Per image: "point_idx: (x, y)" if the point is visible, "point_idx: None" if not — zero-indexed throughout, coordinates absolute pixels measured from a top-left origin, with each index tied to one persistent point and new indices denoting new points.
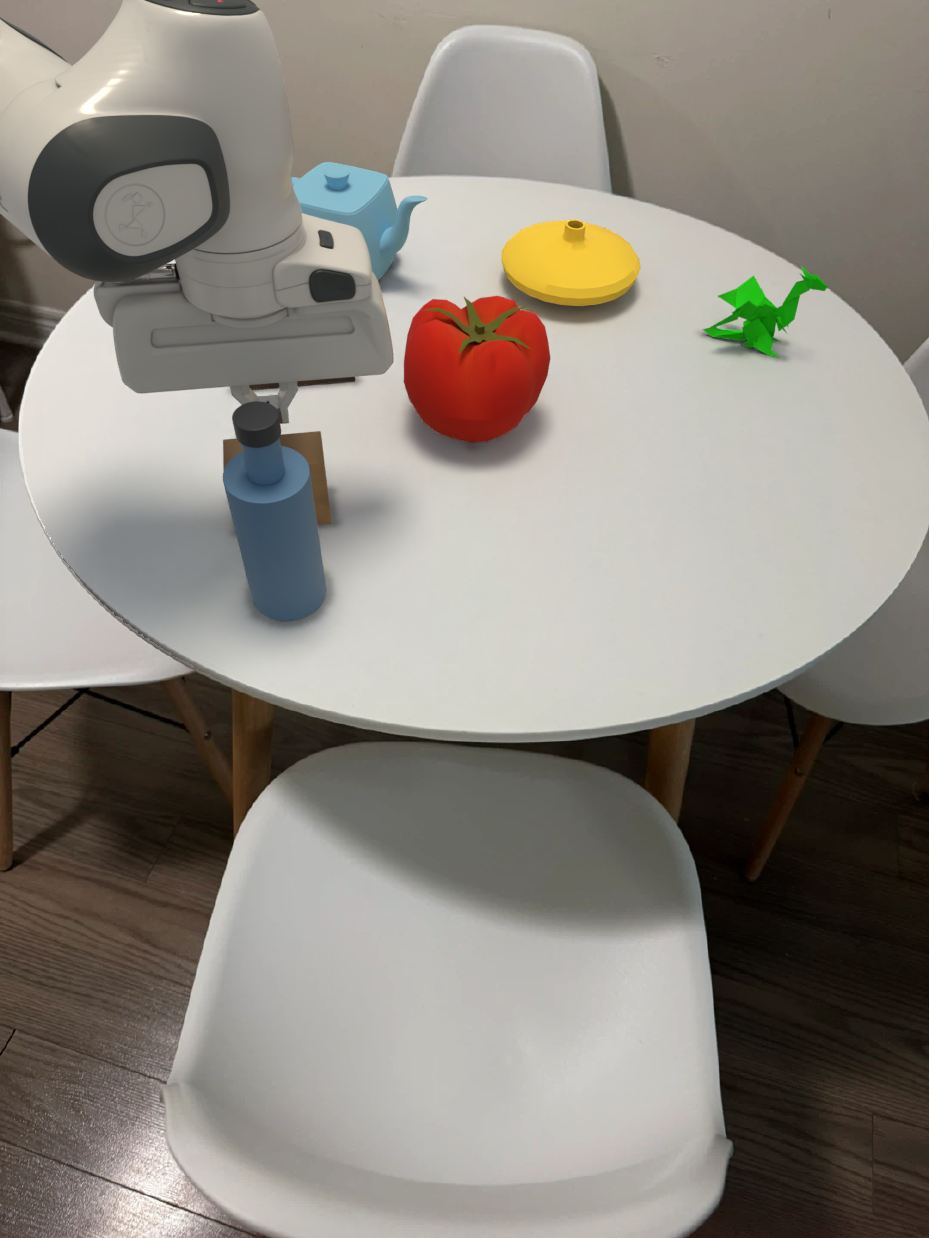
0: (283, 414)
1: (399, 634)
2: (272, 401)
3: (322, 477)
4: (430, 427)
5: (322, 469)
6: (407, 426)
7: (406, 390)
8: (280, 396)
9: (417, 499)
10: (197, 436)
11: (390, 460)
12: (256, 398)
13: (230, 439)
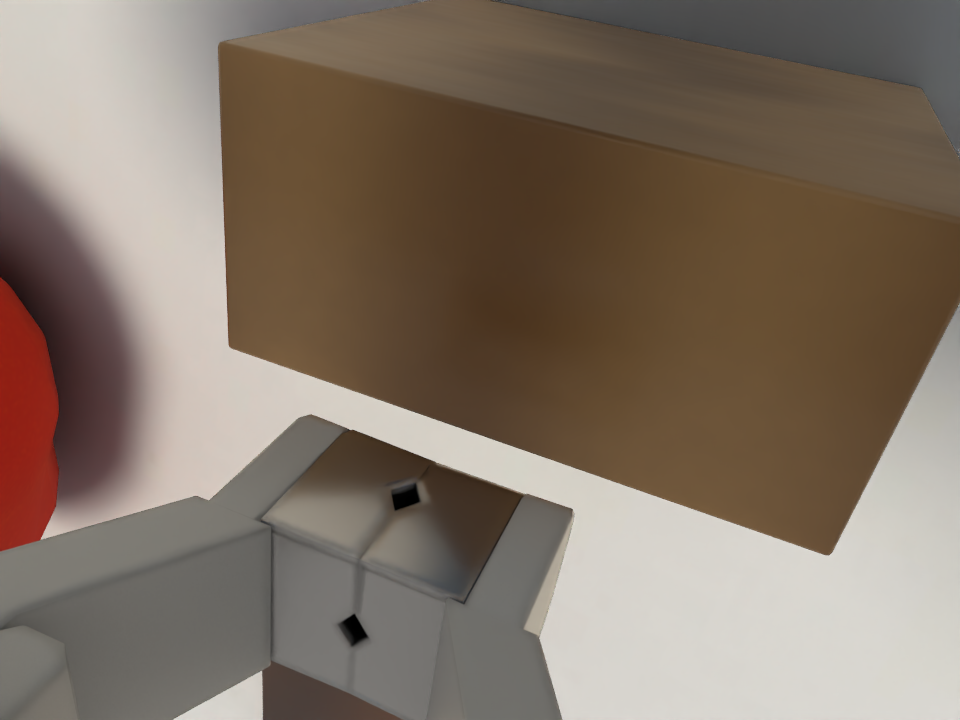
0: (280, 470)
1: None
2: (313, 621)
3: (313, 29)
4: (12, 314)
5: (267, 34)
6: (144, 395)
7: (5, 473)
8: (215, 624)
9: (122, 24)
10: (841, 699)
11: (201, 271)
12: (429, 715)
13: (778, 533)
